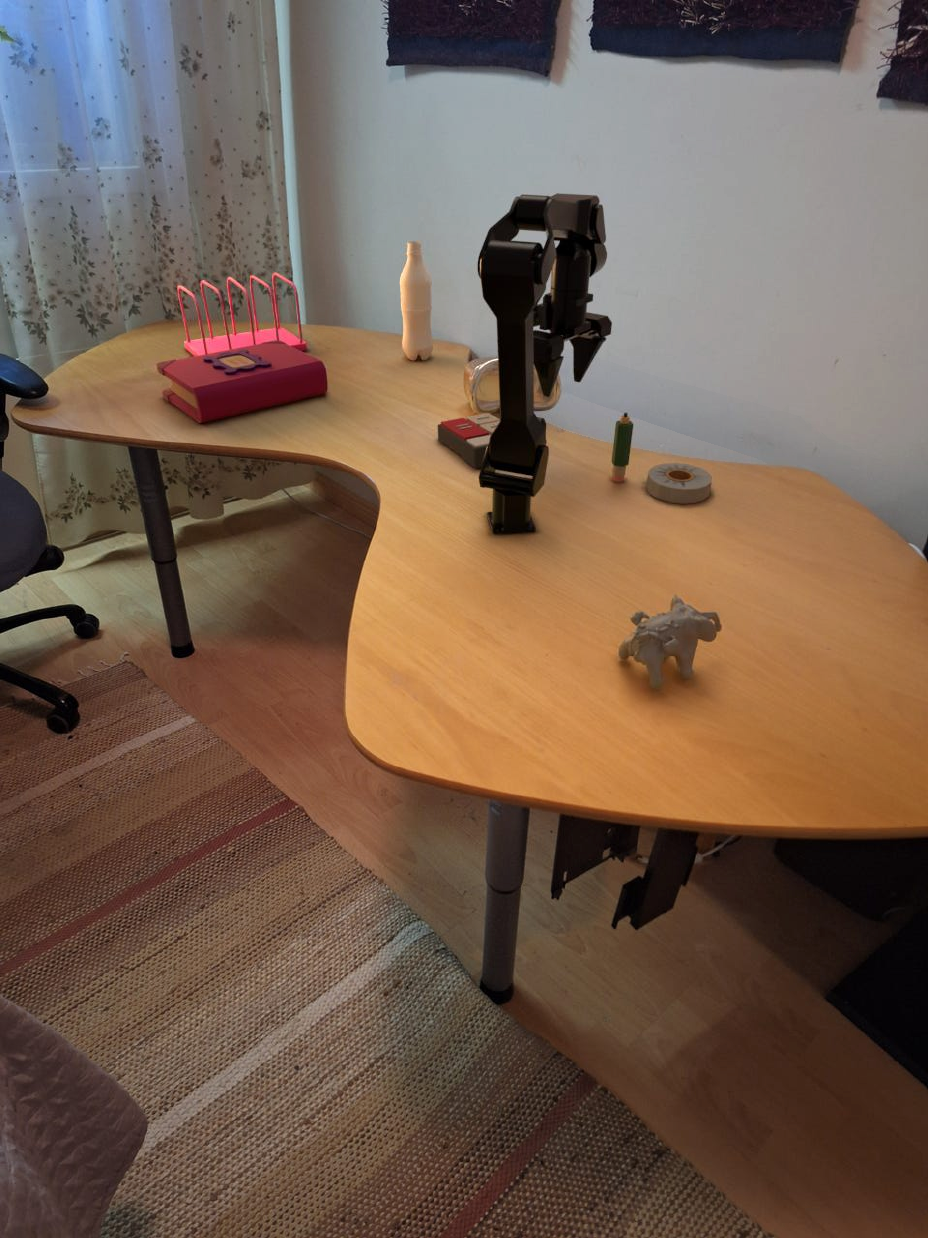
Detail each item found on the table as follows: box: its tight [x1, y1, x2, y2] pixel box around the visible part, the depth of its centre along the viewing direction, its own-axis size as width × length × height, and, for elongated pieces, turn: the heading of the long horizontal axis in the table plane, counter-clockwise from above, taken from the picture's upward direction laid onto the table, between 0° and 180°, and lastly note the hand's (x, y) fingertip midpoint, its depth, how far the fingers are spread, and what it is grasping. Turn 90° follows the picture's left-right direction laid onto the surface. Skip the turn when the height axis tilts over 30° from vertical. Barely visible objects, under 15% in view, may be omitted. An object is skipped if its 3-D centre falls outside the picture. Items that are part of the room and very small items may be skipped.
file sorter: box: [177, 272, 308, 357], centre depth 190 cm, size 17×25×16 cm
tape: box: [645, 462, 713, 505], centre depth 129 cm, size 10×10×3 cm
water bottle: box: [399, 240, 434, 361], centre depth 182 cm, size 7×7×25 cm
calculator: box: [437, 413, 500, 469], centre depth 143 cm, size 11×4×15 cm
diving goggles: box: [463, 356, 562, 415], centre depth 157 cm, size 18×11×14 cm, turn 101°
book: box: [156, 340, 329, 424], centre depth 165 cm, size 21×28×8 cm
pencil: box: [611, 412, 635, 483], centre depth 130 cm, size 2×3×12 cm
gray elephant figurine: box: [618, 593, 723, 691], centre depth 90 cm, size 9×12×8 cm
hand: (562, 388), depth 130 cm, fingers open, 9 cm apart
